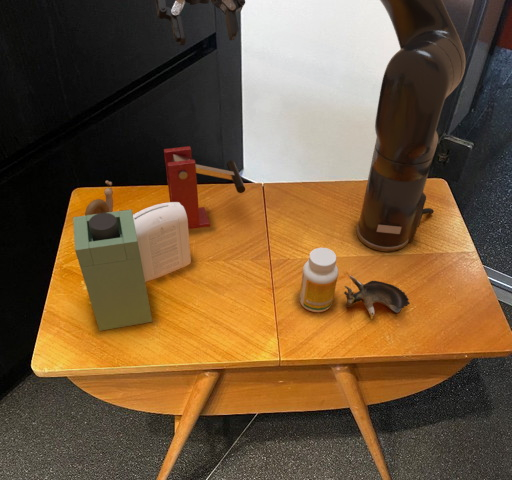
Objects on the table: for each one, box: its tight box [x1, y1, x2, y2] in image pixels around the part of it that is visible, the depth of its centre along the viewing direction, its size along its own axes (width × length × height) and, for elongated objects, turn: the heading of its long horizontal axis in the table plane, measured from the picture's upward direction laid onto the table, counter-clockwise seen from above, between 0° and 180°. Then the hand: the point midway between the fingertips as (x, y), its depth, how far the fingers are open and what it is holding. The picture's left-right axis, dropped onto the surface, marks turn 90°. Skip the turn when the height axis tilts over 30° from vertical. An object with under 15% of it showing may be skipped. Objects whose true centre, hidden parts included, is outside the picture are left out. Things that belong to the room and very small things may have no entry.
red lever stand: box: [163, 145, 211, 230], centre depth 94 cm, size 8×6×14 cm
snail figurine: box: [84, 179, 114, 216], centre depth 90 cm, size 5×6×12 cm
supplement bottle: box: [298, 247, 339, 313], centre depth 84 cm, size 5×5×10 cm
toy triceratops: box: [344, 274, 411, 320], centre depth 85 cm, size 8×7×9 cm
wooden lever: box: [171, 154, 246, 194], centre depth 92 cm, size 12×8×2 cm, turn 104°
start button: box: [89, 213, 120, 241], centre depth 73 cm, size 4×4×3 cm
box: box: [72, 209, 153, 332], centre depth 79 cm, size 8×7×16 cm
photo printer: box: [133, 201, 192, 283], centre depth 87 cm, size 10×4×12 cm, turn 123°
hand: (208, 41), depth 89 cm, fingers open, 8 cm apart
